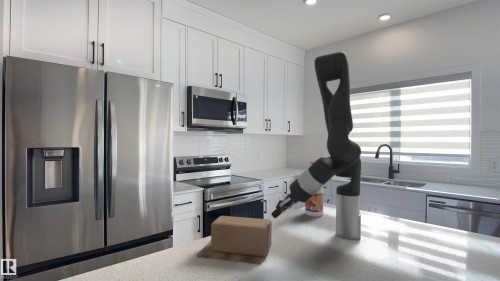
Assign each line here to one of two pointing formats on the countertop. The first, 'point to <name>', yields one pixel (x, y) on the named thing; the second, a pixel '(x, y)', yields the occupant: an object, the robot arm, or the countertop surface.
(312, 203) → the fruit juice
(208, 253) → the cutting board
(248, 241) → the block
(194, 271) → the countertop surface
